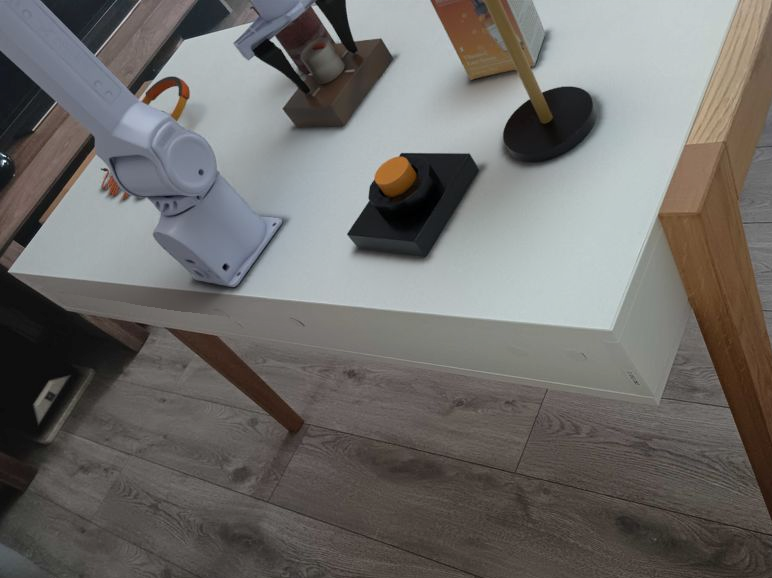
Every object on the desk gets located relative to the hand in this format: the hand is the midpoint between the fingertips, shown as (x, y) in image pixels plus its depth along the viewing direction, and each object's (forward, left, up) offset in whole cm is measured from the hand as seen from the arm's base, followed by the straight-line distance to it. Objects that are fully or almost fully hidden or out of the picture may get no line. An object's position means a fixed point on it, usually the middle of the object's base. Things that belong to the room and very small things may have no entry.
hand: (329, 70), depth 92 cm
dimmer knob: (0, 0, 0) cm, 0 cm away
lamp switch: (-18, -24, 0) cm, 30 cm away
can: (+7, +10, -4) cm, 13 cm away
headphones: (-10, +33, -4) cm, 35 cm away
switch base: (-18, -24, -3) cm, 30 cm away
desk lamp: (-7, -34, -3) cm, 35 cm away
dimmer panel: (0, 0, -3) cm, 3 cm away
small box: (+4, -23, -4) cm, 24 cm away
